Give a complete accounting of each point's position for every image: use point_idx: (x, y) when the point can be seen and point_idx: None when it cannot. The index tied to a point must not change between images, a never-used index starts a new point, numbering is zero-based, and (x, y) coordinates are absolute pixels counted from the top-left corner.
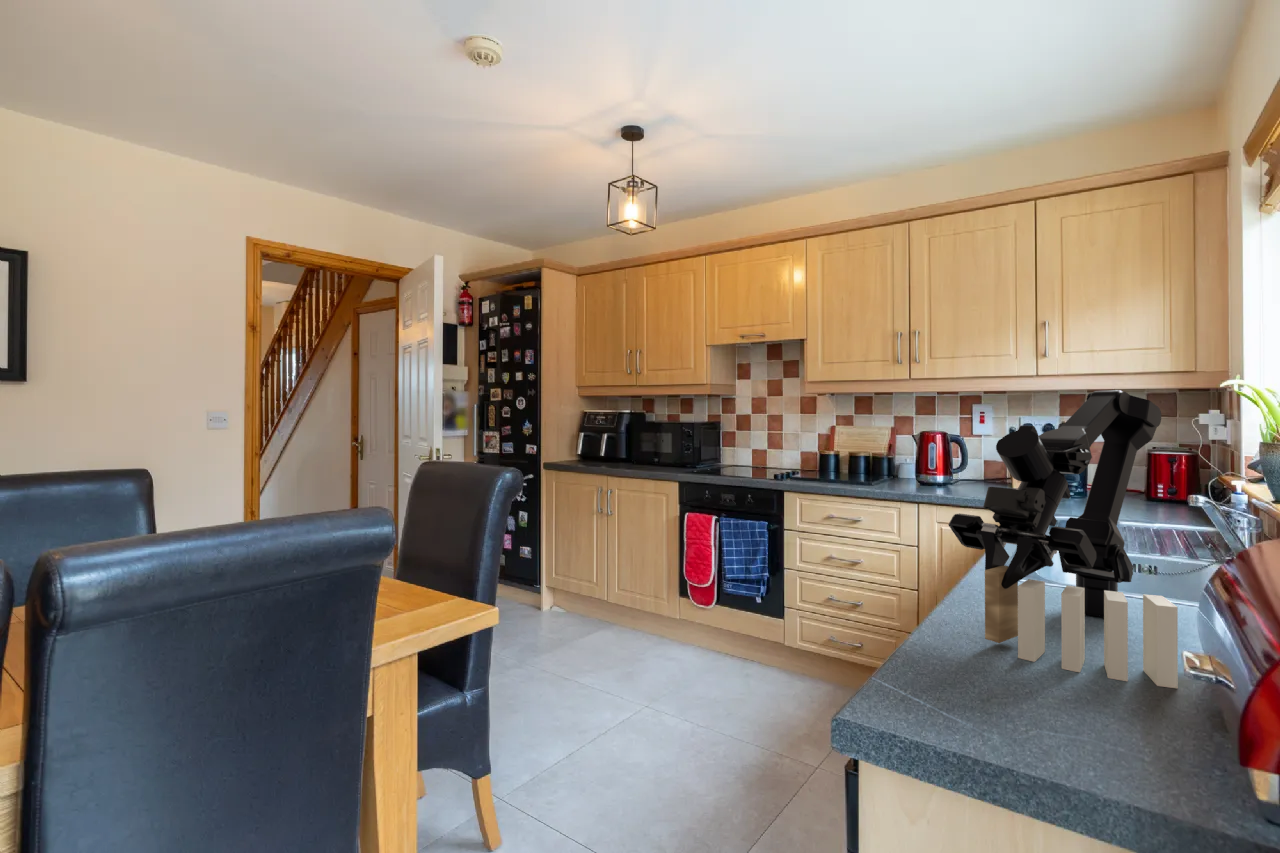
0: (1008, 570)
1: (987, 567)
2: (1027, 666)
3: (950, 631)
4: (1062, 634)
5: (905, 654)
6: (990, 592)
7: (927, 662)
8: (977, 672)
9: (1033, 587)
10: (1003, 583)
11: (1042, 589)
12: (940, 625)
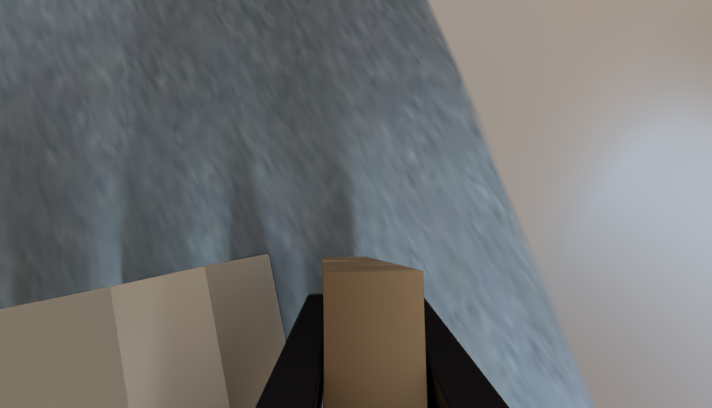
0: (303, 372)
1: (454, 359)
2: (230, 226)
3: (490, 301)
4: (103, 288)
5: (445, 52)
6: (365, 264)
7: (385, 49)
8: (283, 87)
9: (128, 313)
10: (310, 295)
11: None
12: (536, 324)
